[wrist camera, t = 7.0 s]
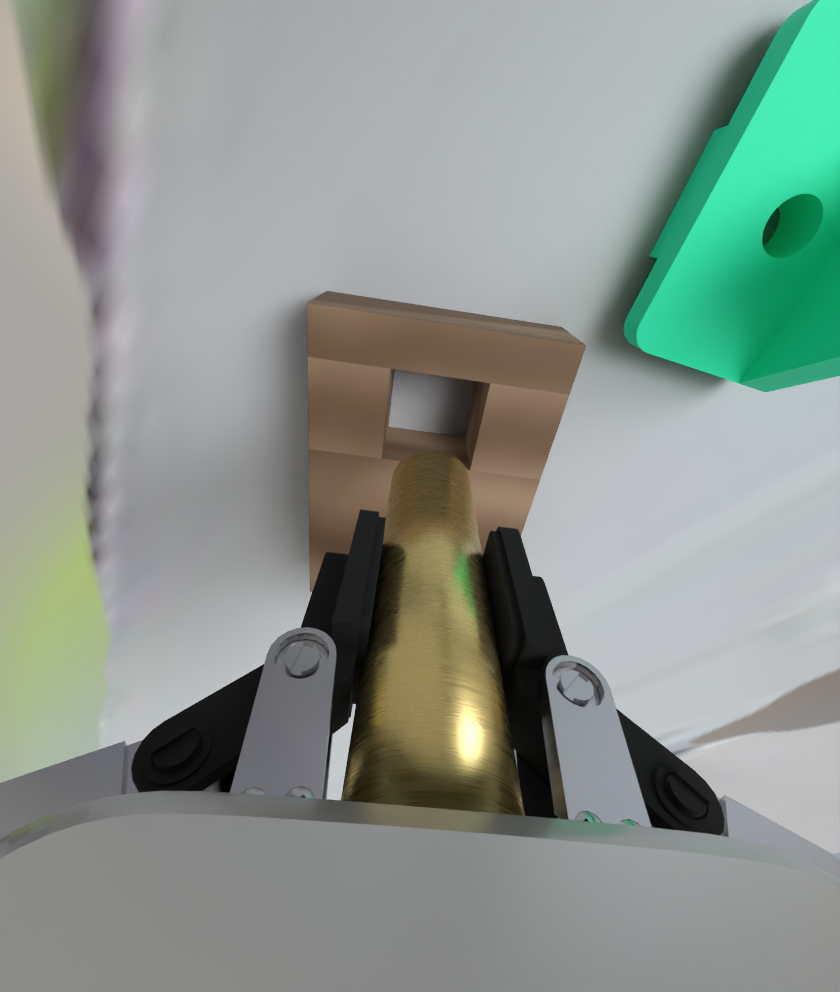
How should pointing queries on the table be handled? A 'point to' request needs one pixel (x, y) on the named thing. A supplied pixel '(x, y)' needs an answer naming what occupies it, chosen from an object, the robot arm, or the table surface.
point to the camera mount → (759, 227)
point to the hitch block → (379, 449)
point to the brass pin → (432, 658)
